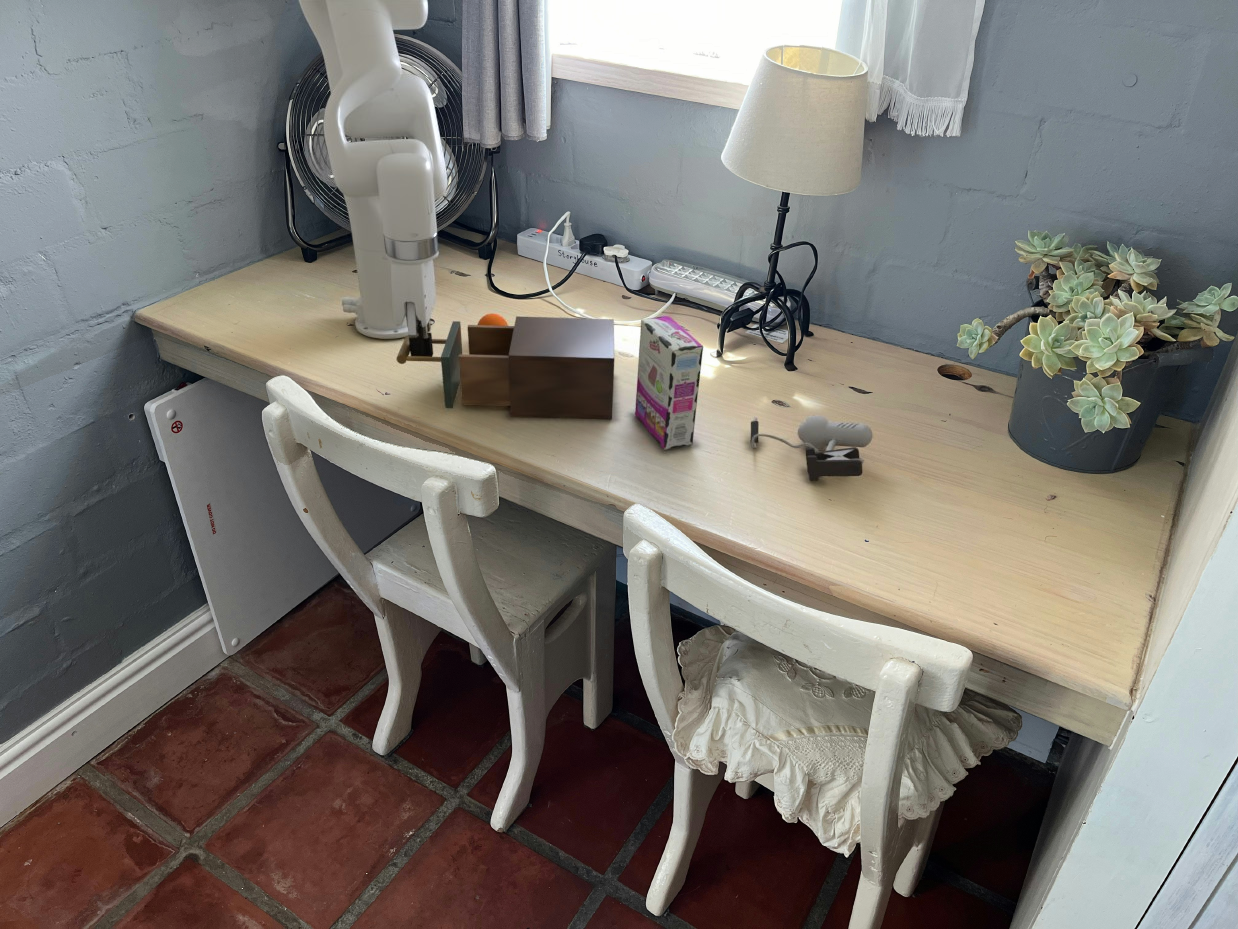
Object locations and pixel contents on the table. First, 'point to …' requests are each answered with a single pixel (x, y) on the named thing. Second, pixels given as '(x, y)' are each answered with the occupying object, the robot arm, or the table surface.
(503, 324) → the ball
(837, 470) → the clip-on lamp
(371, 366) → the table surface
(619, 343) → the table surface
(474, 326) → the drawer
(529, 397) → the cabinet
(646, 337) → the candy bar box
